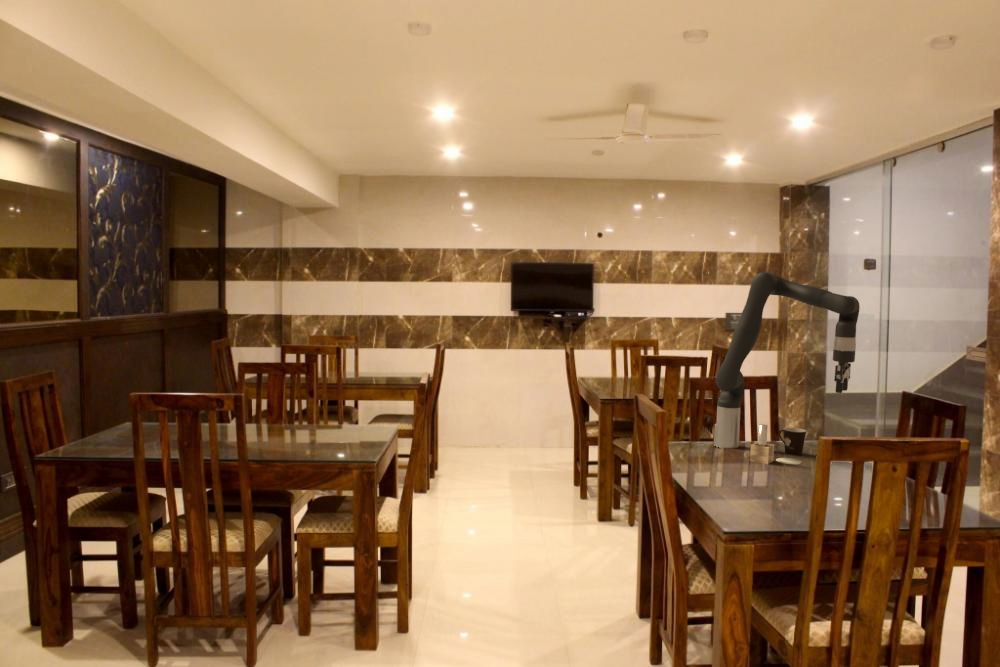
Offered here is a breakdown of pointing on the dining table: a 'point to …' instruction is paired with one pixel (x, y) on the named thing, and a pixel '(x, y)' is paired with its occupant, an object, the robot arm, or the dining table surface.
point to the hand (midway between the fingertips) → (841, 391)
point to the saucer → (788, 461)
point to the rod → (762, 435)
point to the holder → (761, 453)
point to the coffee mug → (793, 440)
